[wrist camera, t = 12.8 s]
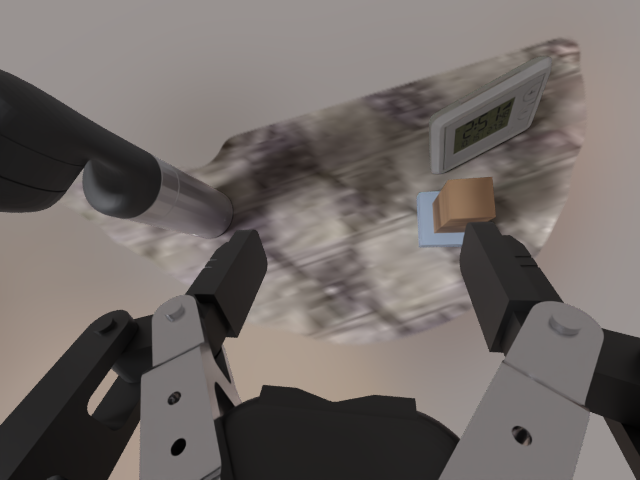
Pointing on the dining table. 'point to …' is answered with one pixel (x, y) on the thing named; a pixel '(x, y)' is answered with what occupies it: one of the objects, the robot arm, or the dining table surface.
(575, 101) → the dining table surface
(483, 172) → the dining table surface
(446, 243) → the pedestal
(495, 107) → the digital clock
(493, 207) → the walnut pillar
